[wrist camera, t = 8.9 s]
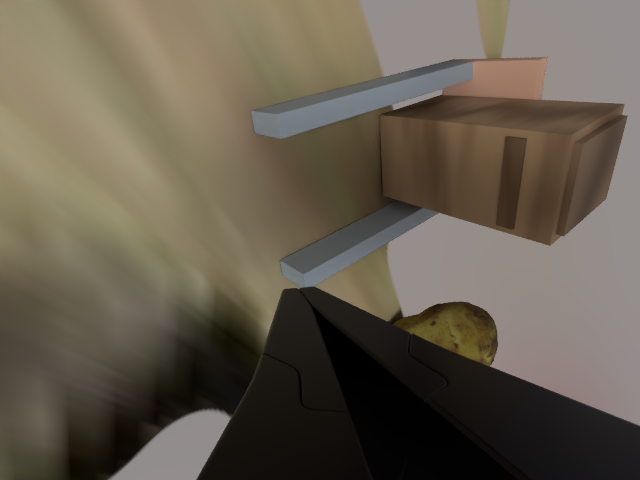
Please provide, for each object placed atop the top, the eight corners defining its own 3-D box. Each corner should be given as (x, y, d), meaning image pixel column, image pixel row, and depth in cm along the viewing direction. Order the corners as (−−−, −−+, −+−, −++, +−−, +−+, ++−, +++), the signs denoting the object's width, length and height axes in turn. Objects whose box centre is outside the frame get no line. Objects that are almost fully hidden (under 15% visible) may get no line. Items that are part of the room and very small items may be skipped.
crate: (381, 196, 29) (556, 249, 21) (377, 115, 27) (579, 137, 18) (438, 168, 33) (607, 203, 24) (440, 95, 30) (633, 104, 22)
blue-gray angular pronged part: (282, 275, 26) (357, 324, 21) (250, 110, 21) (339, 123, 16) (447, 187, 35) (525, 205, 30) (452, 59, 30) (547, 57, 25)
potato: (345, 332, 32) (425, 388, 27) (438, 273, 39) (517, 307, 34) (348, 403, 36) (419, 465, 30) (433, 337, 43) (503, 378, 37)
